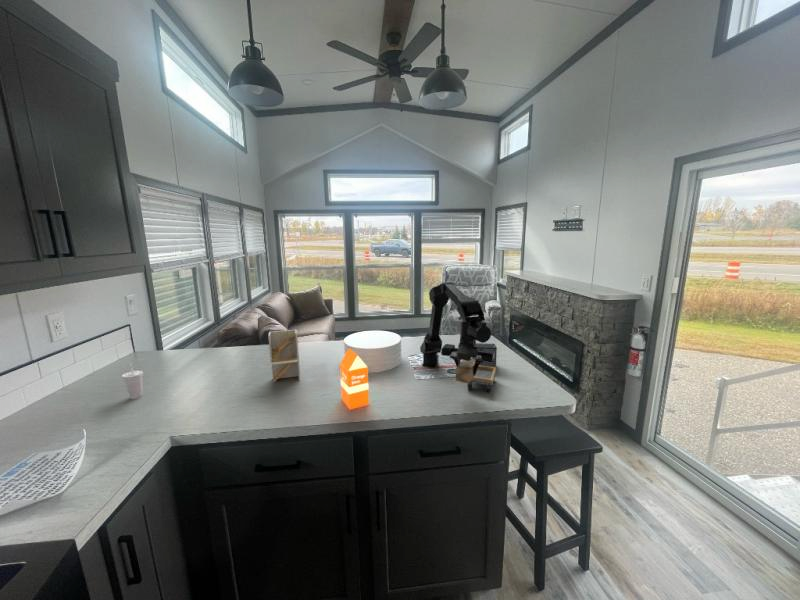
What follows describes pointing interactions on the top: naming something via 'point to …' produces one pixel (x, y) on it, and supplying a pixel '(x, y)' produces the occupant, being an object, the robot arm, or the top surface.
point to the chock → (465, 371)
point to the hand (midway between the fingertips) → (466, 373)
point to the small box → (487, 346)
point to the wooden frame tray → (484, 377)
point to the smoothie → (133, 383)
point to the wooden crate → (284, 354)
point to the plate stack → (375, 349)
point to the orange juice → (354, 380)
